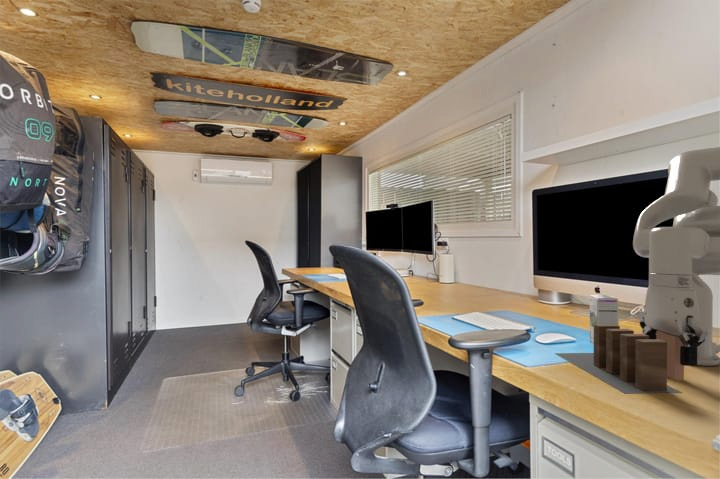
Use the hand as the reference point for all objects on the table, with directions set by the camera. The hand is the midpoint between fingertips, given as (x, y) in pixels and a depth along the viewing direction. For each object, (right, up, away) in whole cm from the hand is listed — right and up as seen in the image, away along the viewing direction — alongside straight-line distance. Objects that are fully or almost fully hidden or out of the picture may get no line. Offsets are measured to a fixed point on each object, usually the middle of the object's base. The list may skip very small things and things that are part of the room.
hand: (669, 358), depth 84 cm
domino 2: (-10, -4, +2) cm, 11 cm away
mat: (-11, -5, +4) cm, 12 cm away
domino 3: (-9, -4, -2) cm, 11 cm away
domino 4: (-9, -4, -7) cm, 12 cm away
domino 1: (-10, -4, +7) cm, 12 cm away
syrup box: (+2, -5, +26) cm, 26 cm away
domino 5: (+1, -5, 0) cm, 5 cm away
